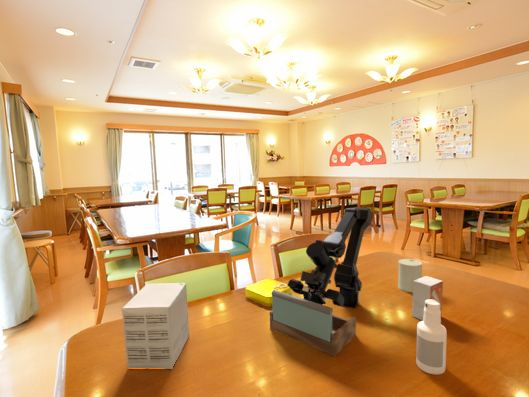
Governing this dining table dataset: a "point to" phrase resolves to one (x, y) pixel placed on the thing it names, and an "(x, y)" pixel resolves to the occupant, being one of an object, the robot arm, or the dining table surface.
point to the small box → (426, 294)
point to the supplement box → (156, 325)
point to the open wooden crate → (340, 338)
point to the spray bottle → (431, 340)
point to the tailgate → (303, 315)
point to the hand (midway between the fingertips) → (304, 316)
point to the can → (409, 273)
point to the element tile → (266, 291)
